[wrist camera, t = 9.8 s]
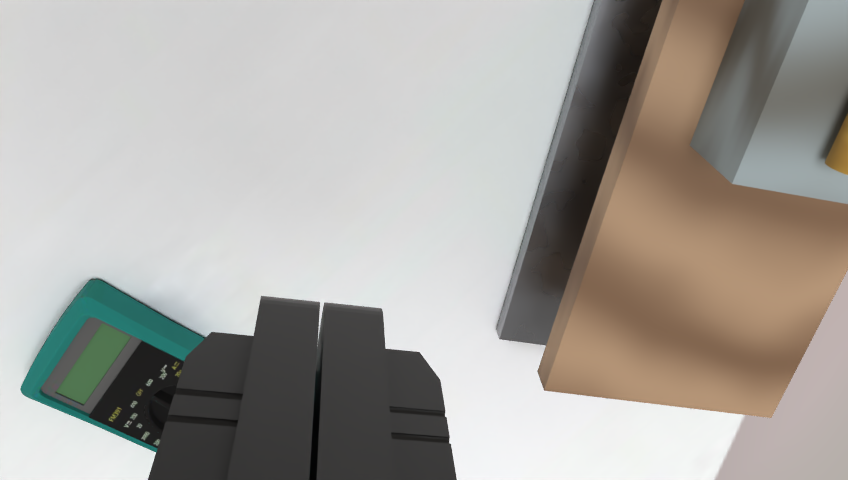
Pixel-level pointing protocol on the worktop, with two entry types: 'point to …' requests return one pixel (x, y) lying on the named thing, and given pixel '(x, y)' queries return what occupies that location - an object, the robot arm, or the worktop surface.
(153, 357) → the digital multimeter
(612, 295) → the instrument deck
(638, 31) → the levelling stand
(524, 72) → the worktop surface
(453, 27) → the worktop surface
